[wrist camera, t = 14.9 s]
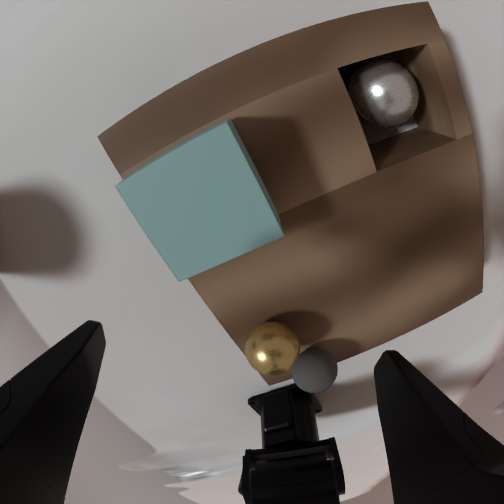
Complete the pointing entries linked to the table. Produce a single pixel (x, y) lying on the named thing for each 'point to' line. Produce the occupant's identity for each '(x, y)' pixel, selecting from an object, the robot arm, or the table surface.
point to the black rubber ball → (314, 370)
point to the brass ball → (272, 348)
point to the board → (334, 184)
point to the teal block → (202, 202)
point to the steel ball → (383, 92)
